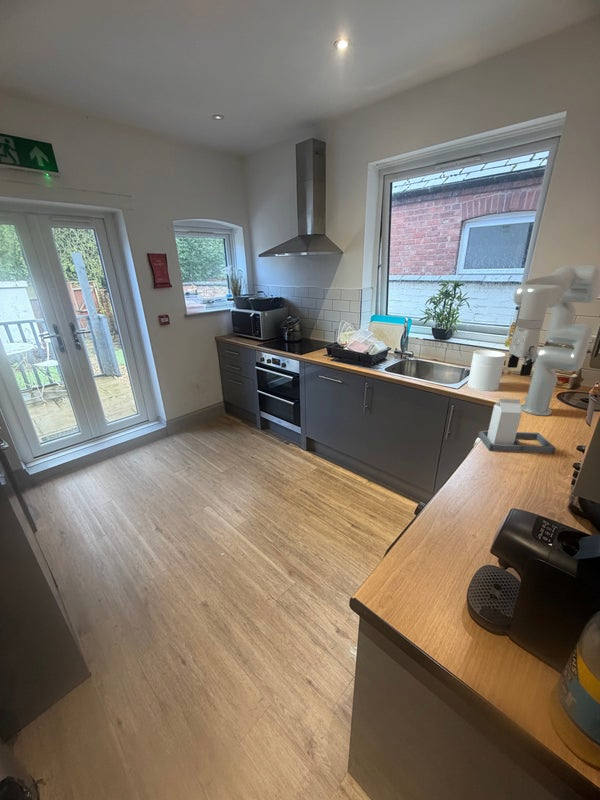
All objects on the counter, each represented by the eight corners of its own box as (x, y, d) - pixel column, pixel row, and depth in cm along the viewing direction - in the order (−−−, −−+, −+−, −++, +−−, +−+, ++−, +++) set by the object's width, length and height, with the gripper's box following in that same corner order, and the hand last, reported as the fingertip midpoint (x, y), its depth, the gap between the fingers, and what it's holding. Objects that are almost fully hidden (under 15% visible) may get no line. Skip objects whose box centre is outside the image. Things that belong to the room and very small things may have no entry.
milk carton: (512, 447, 127) (524, 403, 120) (493, 446, 128) (503, 402, 121) (505, 438, 134) (516, 395, 126) (486, 437, 135) (496, 395, 127)
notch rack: (477, 435, 137) (478, 430, 136) (537, 438, 134) (538, 432, 133) (489, 450, 126) (490, 444, 125) (554, 453, 123) (555, 447, 122)
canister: (499, 384, 194) (506, 351, 186) (497, 393, 181) (505, 358, 174) (469, 380, 202) (475, 348, 194) (465, 388, 189) (472, 354, 182)
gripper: (506, 320, 122) (497, 364, 128) (530, 328, 106) (518, 378, 112) (528, 320, 121) (518, 364, 127) (555, 328, 105) (542, 379, 111)
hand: (518, 371), depth 120 cm, fingers open, 9 cm apart
